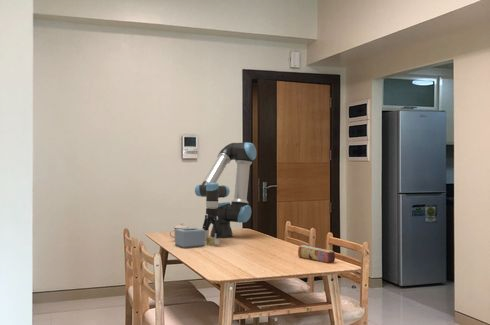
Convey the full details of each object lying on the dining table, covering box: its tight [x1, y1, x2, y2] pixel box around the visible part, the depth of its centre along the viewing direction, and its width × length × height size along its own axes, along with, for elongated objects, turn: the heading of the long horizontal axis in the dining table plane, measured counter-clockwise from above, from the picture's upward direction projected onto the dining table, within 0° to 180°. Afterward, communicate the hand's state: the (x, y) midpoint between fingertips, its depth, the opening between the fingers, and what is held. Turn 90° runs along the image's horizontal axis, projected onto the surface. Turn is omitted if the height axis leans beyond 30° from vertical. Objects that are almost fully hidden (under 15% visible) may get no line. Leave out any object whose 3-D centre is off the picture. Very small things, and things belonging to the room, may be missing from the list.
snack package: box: [297, 244, 336, 264], centre depth 270 cm, size 21×7×7 cm, turn 41°
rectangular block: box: [205, 236, 219, 246], centre depth 316 cm, size 6×4×4 cm, turn 122°
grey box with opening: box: [174, 227, 206, 249], centre depth 310 cm, size 14×12×10 cm
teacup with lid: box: [169, 222, 189, 239], centre depth 328 cm, size 12×9×12 cm
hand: (211, 242), depth 316 cm, fingers open, 13 cm apart
